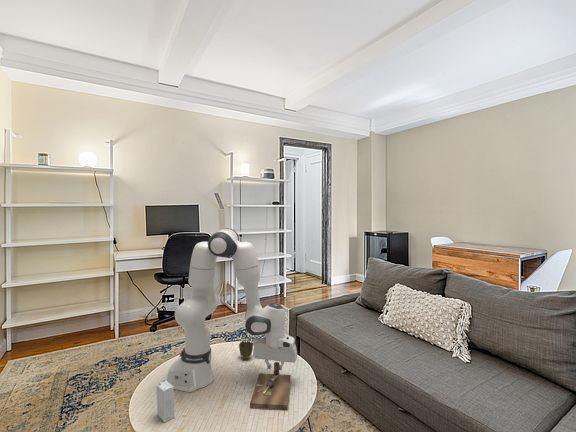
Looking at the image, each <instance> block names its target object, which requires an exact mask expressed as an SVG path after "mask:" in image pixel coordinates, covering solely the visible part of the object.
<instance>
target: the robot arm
mask: <svg viewBox="0 0 576 432" xmlns="http://www.w3.org/2000/svg"><path fill="white" fill-rule="evenodd" d="M239 239H240V237H239V235H238V233H237V231H235V229H232V228H229V227H227V228H222V229H219V230H217V231H216V232H215V233H213V234H211V236H210V237H209V239H208V241H201V242H197V243H196V244H195V246H194V247H193V250H192V254H191V257H190V264H189V273H188V284H189V286H190V287H191V288H192V289H191V290H192V296H191V297H190V298H188V299H186V300H184V301H182V302H181V304H179V305H178V306H177V307H176V309H175V311H174V319H175V321H176V323H177V324H178V325H179V326H180V327H182V329H183V332H184V347H183V348H182V350H181V352H180V354H179V358H178V359H177V360H176V361H174V362H173V363H172V364H171V365H170V367H169V368H168V370H167V374H165V375H164V377H163V378H162V380H161V383H162V382H164V381H168V382H169V383H170V384H171V385H172V386H174V390H176V391H182V392H185V393H186V392H187V393H192V392H195V391H196V390H200V389H202V388H204V387H207V386H209V385H211V383H212V382H213V380H214V378H215V377H214V374H213V370H212V363H211V361H212V347H211V331H210V329H209V328H207V327H206V322H205V321H206V318H207V317H208V316H210V315H211V314H212V313H214V311H215V310H216V309H217V307H218V306H219V297H218V296H217V294H216V293H215V284H214V283H215V273H216V266H217V265H216V264H217V259H218V258H227V259H232V262H233V267H234V269H233V270H234V274H235V277H236V280H237V282H238V284H239V286H241V287H242V288H243V290H244V292H245V298H246V299H245V300H246V305H247V306H246V309H245V313H244V315H245V318H244V319H245V321H244V323H245V325H244V327H245V330H246V332H247V333H248V334H250V335H252V336H261V335H265V337H256V338H254V339H253V341H252V342H253V350H252V357H253V359H256V360H264V363H265V364H266V366H267V369H268V370H271V369H272V363H270V361H275V362H280V364H279V367H278V368H279V369H278V370H279V371H282V370H283V366H284V365H285V363H292V364H295V363H296V362H297V360H298V350H297V345H296V344H295V342H296V341H295V340H296V339H295V337H293V336H291V335H289V334H287V333H286V331H285V327H286V315H285V313H286V312H285V309H284V307H283V306H282V305H281V304H279V303H274V302H271V303H268V304H266V306H263V304H262V303H261V299H260V292H259V282H260V279H261V277H260V276H261V271H260V270H261V269H260V263H259V258H258V254H257V251H256V248H255V246H254V244H253V243H252V242H248V241H240V240H239Z"/></svg>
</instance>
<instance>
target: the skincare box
mask: <svg viewBox="0 0 576 432" xmlns="http://www.w3.org/2000/svg"><path fill="white" fill-rule="evenodd" d="M156 405H157V408H156V409H157V416H158V417H159V418H160V419H161V420H162V422H163V423H167V422H169V421H170V420H173V419H174V418H175V417H176V416H175V389H174V386H172V385H171V384H170V383H169V382H168V381H164V382H162V381H161V382H160V383H157V384H156Z"/></svg>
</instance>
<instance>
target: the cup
mask: <svg viewBox="0 0 576 432" xmlns="http://www.w3.org/2000/svg"><path fill="white" fill-rule="evenodd" d="M238 346H239V347H238V348H239V354H240V355H241V357H242V359H243V360H245V361H246V360H249V359H250V356H251V355H253V350H254V345H253V341H250V340H241V341H240V342H239V344H238Z"/></svg>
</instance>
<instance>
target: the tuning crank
mask: <svg viewBox="0 0 576 432" xmlns="http://www.w3.org/2000/svg"><path fill="white" fill-rule="evenodd" d="M279 365H280V361H275V362H273V374H274V376H273V378H272V379H271V380H267V388H266V389H265V391H264V392H263V395H265V393H266V392H267V390H268V389H269V388H272V387H273V382H274V381H275V379H276V378H277V376H278V375H279V374H280V370H278V369H279V368H278V367H279Z"/></svg>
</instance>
